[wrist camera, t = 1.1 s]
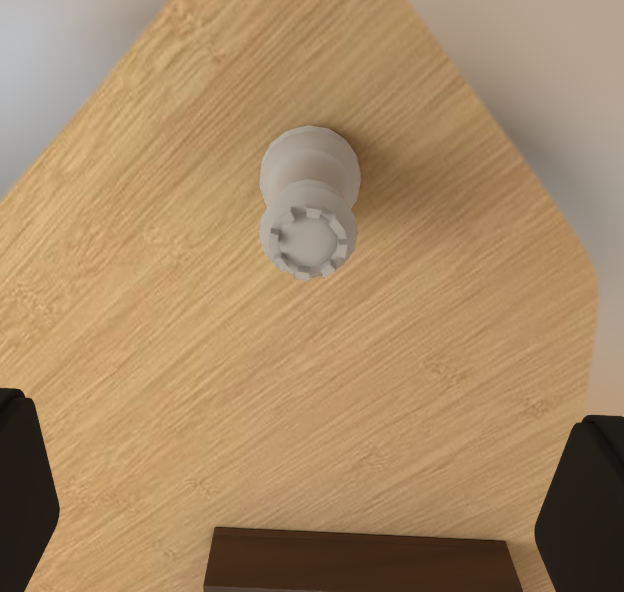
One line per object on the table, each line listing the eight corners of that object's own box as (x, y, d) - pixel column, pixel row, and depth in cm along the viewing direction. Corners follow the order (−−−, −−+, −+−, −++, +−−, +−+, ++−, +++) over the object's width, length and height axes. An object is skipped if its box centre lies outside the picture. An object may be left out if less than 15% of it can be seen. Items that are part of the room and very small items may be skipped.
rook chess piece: (337, 233, 25) (346, 323, 18) (248, 202, 24) (220, 282, 17) (375, 144, 23) (402, 206, 16) (278, 107, 22) (262, 154, 15)
